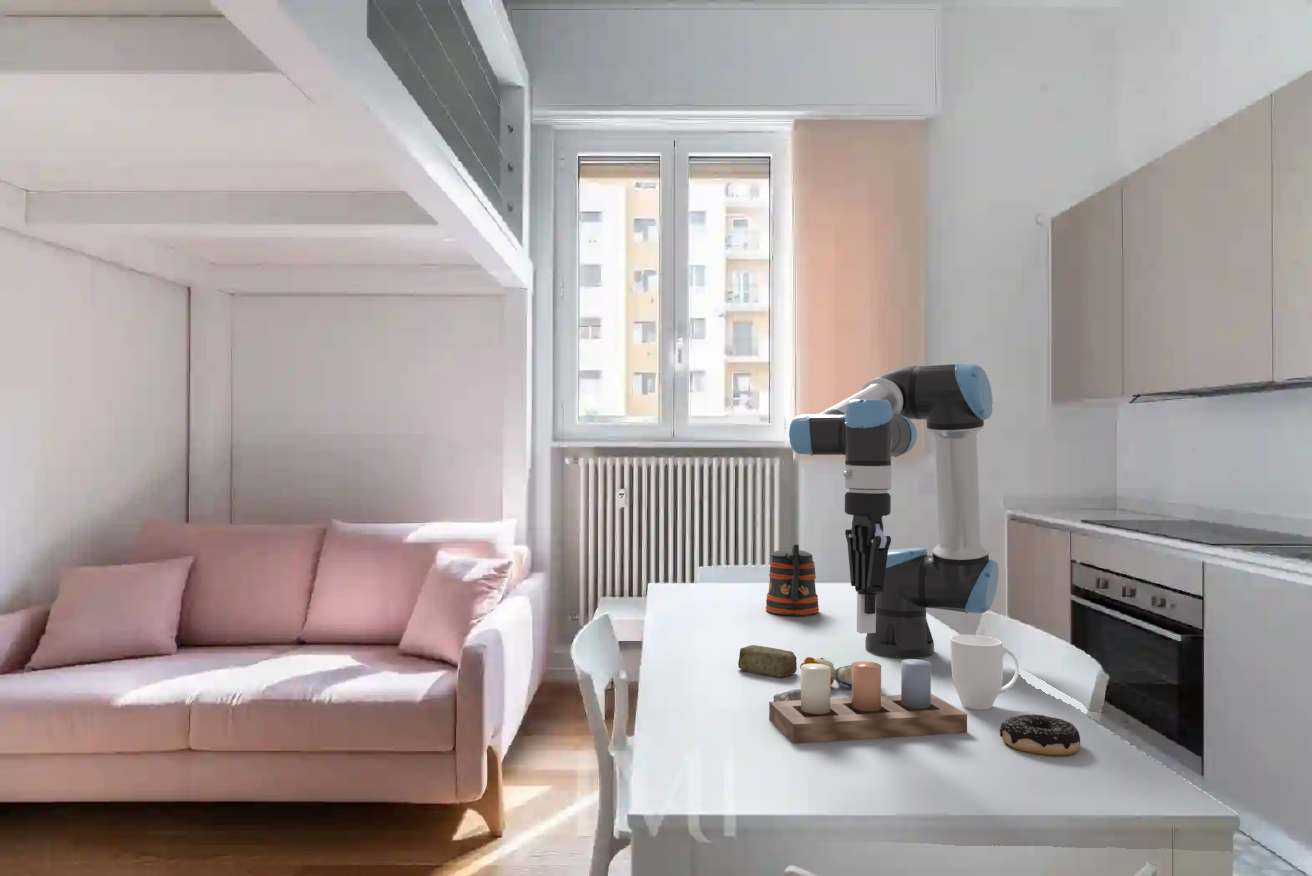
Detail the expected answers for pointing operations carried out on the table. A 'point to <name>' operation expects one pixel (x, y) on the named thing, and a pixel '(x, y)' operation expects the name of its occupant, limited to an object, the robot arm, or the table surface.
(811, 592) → the beer stein
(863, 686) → the cap terracotta
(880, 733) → the wooden compartment tray
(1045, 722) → the donut
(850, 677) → the toy
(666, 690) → the table surface
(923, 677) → the cap slate
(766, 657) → the stone block
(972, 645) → the mug
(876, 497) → the robot arm
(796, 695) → the stone
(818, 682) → the white rounded cylinder
